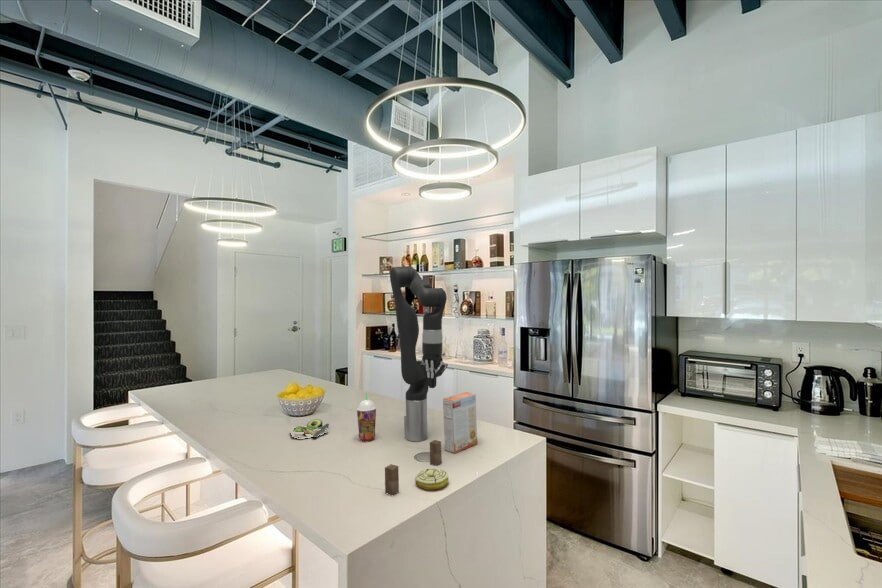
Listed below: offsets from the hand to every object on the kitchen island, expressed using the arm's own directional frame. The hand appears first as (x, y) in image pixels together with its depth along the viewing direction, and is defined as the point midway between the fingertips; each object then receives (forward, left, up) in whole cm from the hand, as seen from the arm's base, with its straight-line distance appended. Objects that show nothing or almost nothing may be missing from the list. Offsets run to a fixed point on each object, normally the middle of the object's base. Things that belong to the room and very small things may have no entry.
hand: (432, 387), depth 150 cm
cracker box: (+2, +16, -27) cm, 32 cm away
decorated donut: (+10, -16, -28) cm, 33 cm away
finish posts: (+2, -15, -27) cm, 31 cm away
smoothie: (-38, +4, -27) cm, 47 cm away
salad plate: (-68, -2, -28) cm, 73 cm away
